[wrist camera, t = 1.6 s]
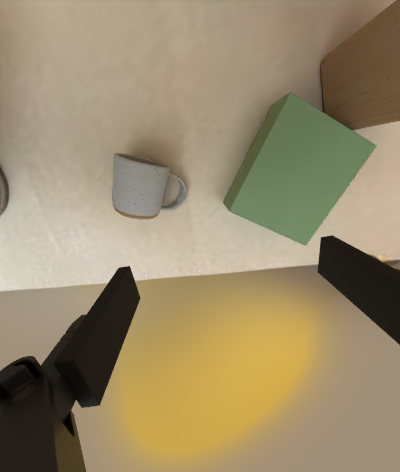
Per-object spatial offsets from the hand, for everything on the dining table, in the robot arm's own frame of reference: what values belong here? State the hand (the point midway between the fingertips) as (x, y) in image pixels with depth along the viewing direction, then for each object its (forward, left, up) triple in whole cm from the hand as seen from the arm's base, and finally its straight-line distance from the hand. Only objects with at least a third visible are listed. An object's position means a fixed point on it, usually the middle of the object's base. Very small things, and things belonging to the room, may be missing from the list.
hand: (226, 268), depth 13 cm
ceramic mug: (-9, -1, -22) cm, 24 cm away
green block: (+10, +9, -22) cm, 26 cm away
